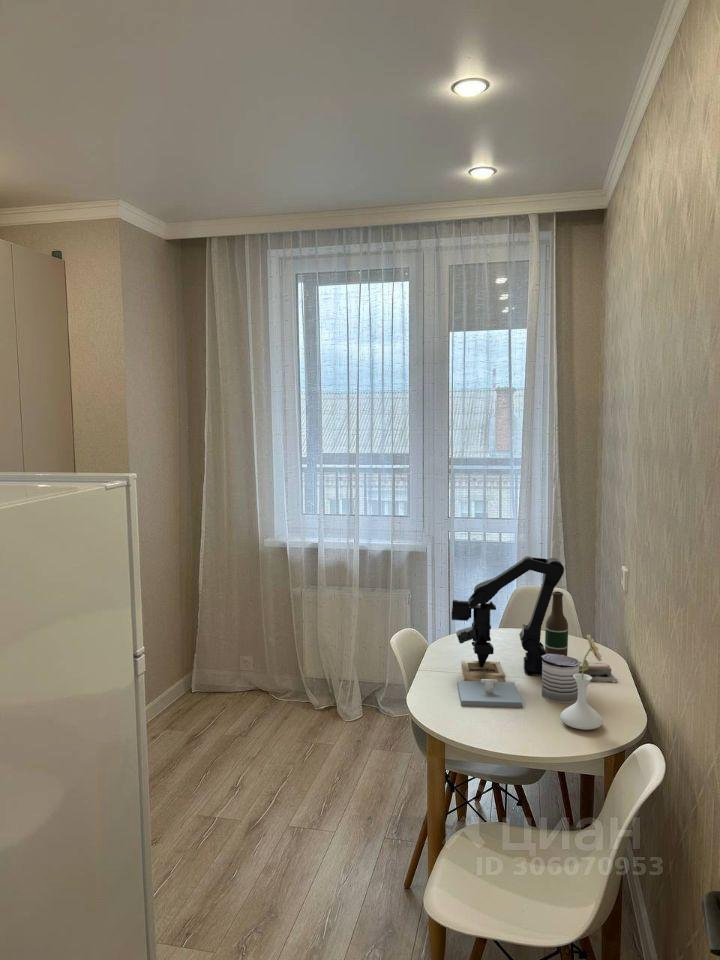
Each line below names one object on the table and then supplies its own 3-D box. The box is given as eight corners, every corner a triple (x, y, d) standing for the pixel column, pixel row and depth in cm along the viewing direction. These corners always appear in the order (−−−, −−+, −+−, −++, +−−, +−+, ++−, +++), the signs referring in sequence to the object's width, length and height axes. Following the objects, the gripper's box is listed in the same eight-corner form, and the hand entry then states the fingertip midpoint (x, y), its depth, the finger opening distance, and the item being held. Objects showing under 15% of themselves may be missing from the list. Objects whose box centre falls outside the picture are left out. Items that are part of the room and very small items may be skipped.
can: (535, 689, 220) (536, 652, 219) (570, 688, 221) (571, 651, 220) (548, 703, 209) (549, 664, 208) (585, 702, 210) (586, 663, 209)
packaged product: (561, 667, 227) (555, 657, 237) (560, 682, 228) (554, 671, 237) (617, 669, 226) (609, 658, 236) (617, 683, 226) (608, 672, 236)
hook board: (514, 687, 222) (514, 669, 221) (522, 707, 206) (522, 689, 205) (457, 685, 223) (457, 668, 223) (461, 705, 207) (461, 687, 207)
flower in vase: (592, 737, 186) (595, 646, 184) (552, 725, 194) (555, 637, 192) (611, 722, 196) (614, 635, 194) (572, 711, 203) (575, 627, 201)
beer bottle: (555, 653, 255) (557, 588, 253) (571, 659, 248) (573, 593, 246) (540, 656, 251) (541, 591, 249) (556, 663, 244) (558, 595, 242)
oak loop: (499, 668, 238) (499, 661, 238) (504, 682, 225) (505, 675, 225) (461, 667, 239) (461, 660, 239) (464, 681, 226) (464, 674, 226)
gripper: (456, 613, 246) (455, 656, 248) (459, 628, 228) (459, 675, 229) (487, 614, 246) (487, 657, 247) (494, 629, 227) (493, 676, 228)
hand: (480, 666), depth 238 cm, fingers closed on oak loop, 2 cm apart
